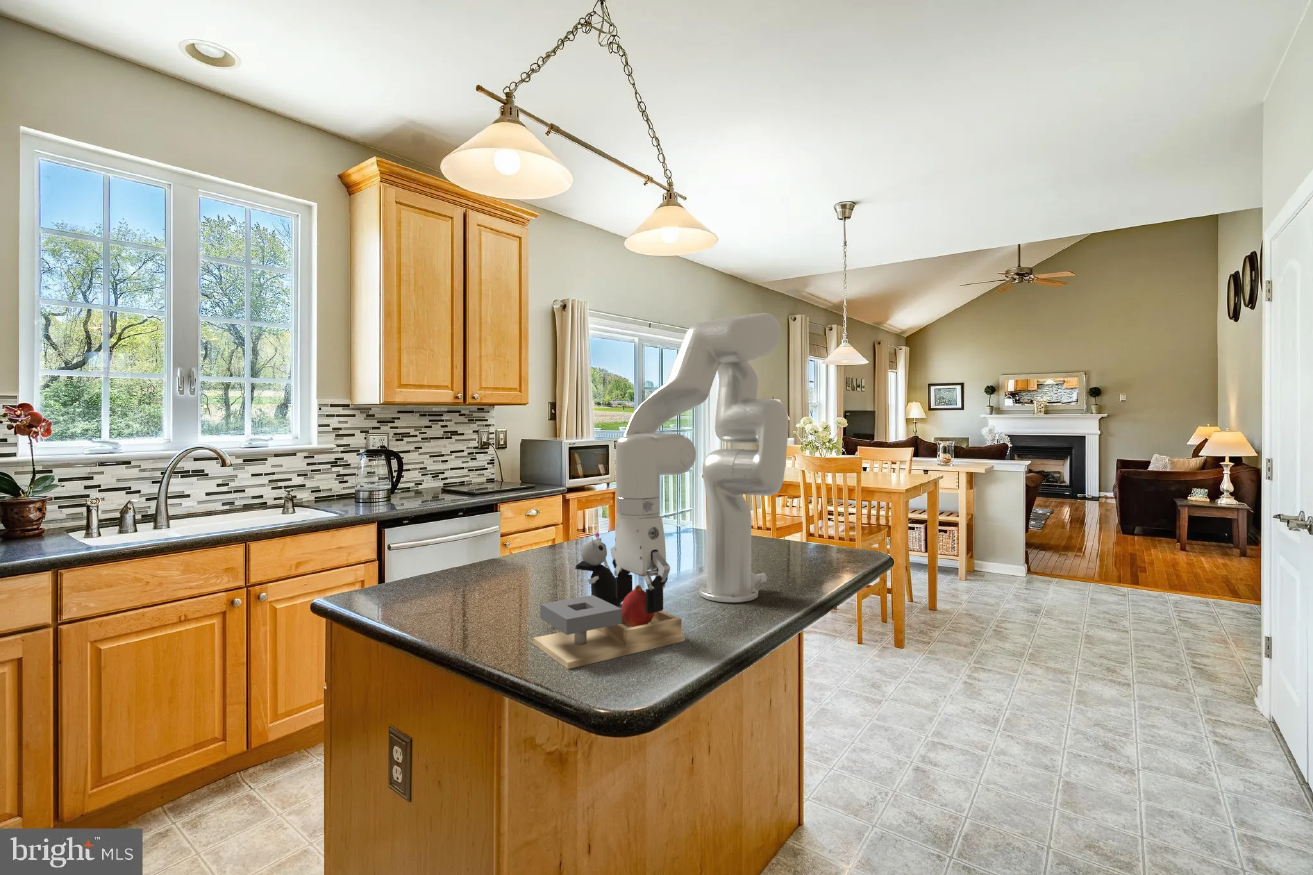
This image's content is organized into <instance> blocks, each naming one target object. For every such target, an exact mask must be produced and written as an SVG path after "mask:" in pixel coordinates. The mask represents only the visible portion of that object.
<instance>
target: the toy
mask: <svg viewBox="0 0 1313 875" xmlns="http://www.w3.org/2000/svg"><path fill="white" fill-rule="evenodd" d="M594 536H595V539H594V538H593V537H591V539H590V540H588V541H586V542H585V543H584V544H583V546H582V548H581V551H580V554H581V559H582V561H580V562H579V563H576V564H575V568H574V569H575V570H580V571H587V572H592V573H591V575H590V578H589V579H587V581H588V584H589V585H590V595H594V596H596V597H598V598H600V599H602V600H604V601H606V602H608V603H610V604H612V605H615V606H617V607H619V606H620V605H622V603H623V600H624V599H625V598H623V599H617V598H616V576H615V575H614V572H612V570H611V568H610V565H609V564H608V561H607V554H608V549H607V545H606V544H605V543H603V541H602V537H600V533H595V535H594Z"/></svg>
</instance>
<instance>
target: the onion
mask: <svg viewBox="0 0 1313 875" xmlns="http://www.w3.org/2000/svg"><path fill="white" fill-rule="evenodd" d="M621 608H622V616H623V618H624V620H625V621H626V622H627V623H628V624H629V625H630V626H631V627H636V626H640V625H645V624H648V623H649V622H650V621H651V620H652V618H653V617H654V613H647V612H646V590H644V589H642V586H641V585H640V584H637V585H635V587H634V589H632V591H631V592H630V593H629V594H628V595H627V596H626V597H625V599H624V600H623V602H622V603H621Z"/></svg>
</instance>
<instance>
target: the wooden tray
mask: <svg viewBox="0 0 1313 875" xmlns="http://www.w3.org/2000/svg"><path fill="white" fill-rule="evenodd" d="M621 609H622V607H621ZM685 640H686V635H685V634H683V633H682V618H681V617H679V616H676V615H673V614H671V613H668V612H666V611H664V610H662V611H658V612H654V617H653V618H652V620H651V621H650V622H649V623H648V624H645V625H640V626H636V627H631V626H630V625H629V624H628V623H627V622H626V621H625V620H624V618H623V616H622V624H618V625H613V626H608V627H603V628H598V629H593V630H589V631H584V632H579V633H574V634H569V635H566V634H564V633H563V632H561V631H559V632H556V633H552V634H550V633H549V634H546V635H545V634H544V635H541V636H536V637H532V642H533V643H532V644H533V645H534V646H535V647H536V648H538V649H539V650H541V651H543V652H544V653H545V654H547V655H548V656H549V658H550V657H551V659H553V660H555V661H556V662H557V663H559V664H560V665H562V667H564V668H565V669H567V670H570V669H574V668H577V667H582V666H586V665H591V664H594V663H598V662H603V661H608V660H611V659H616V658H620V657H624V656H628V655H632V654H636V653H640V652H644V651H648V650H653V649H658V648H662V647H665V646H669V645H670V646H671V645H674V644H678V643H682V642H686V641H685Z"/></svg>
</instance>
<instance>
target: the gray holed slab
mask: <svg viewBox="0 0 1313 875" xmlns="http://www.w3.org/2000/svg"><path fill="white" fill-rule="evenodd" d="M621 608H622V607H621ZM621 608H620V607H619V606H615V605H612V604H610V603H608V602H606V601H604V600H602V599H600V598H598V597H596V596H594V595H591V594H590V595H585V596H580V597H574V598H568V599H562V600H556V601H551V602H550V601H549V602H544V603H540V610H539V612H540V616H539V617H540V619H541V620H542V621H544V622H545V623H547V624H549V625H550V626H551V627H554V628H555V629H556V630H558V631H559V632H563V633H564V634H566V635H569V634H574V633H579V632H584V631H589V630H593V629H598V628H603V627H608V626H613V625H618V624H622V609H621Z"/></svg>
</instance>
